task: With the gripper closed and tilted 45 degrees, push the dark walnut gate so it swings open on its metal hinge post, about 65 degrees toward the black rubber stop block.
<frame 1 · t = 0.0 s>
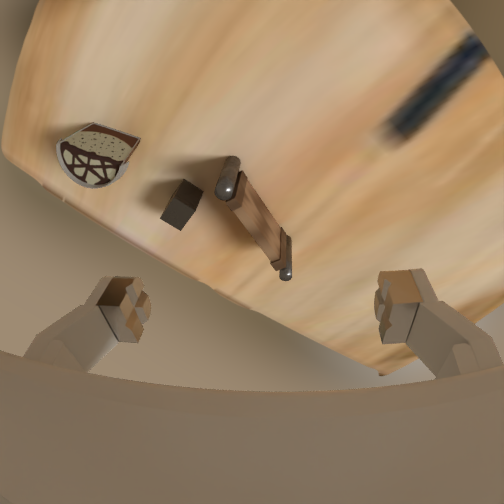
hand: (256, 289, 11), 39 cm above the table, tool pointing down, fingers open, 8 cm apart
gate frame: (233, 162, 49), on the table
food container: (113, 144, 48), on the table
gate: (259, 220, 50), point 5 cm above the table, hinge at 0.0°
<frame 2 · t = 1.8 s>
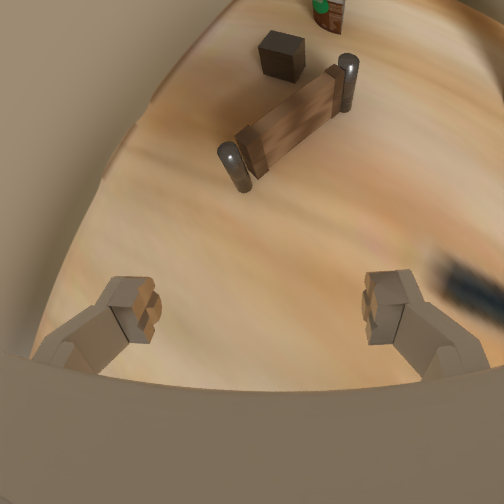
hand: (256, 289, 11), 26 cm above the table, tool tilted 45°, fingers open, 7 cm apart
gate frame: (342, 105, 39), on the table
food container: (325, 17, 42), on the table
gate: (295, 121, 34), point 5 cm above the table, hinge at 0.0°
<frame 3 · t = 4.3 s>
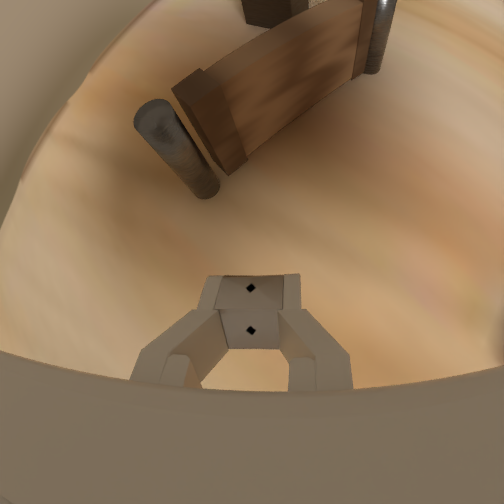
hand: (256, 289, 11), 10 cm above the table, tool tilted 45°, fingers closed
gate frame: (366, 64, 23), on the table
gate: (293, 73, 18), point 5 cm above the table, hinge at 0.0°
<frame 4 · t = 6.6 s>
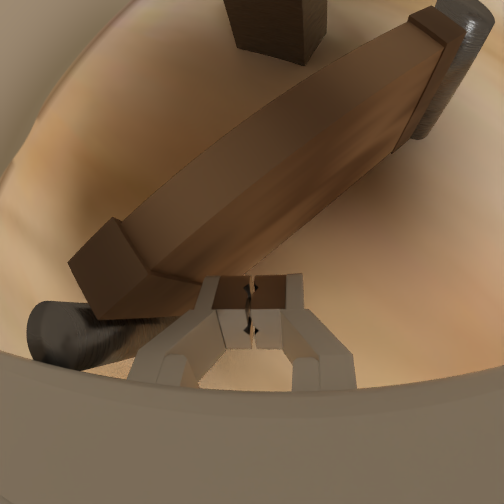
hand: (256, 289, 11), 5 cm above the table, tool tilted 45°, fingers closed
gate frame: (411, 122, 16), on the table
gate: (305, 171, 11), point 5 cm above the table, hinge at 1.4°, touching gripper
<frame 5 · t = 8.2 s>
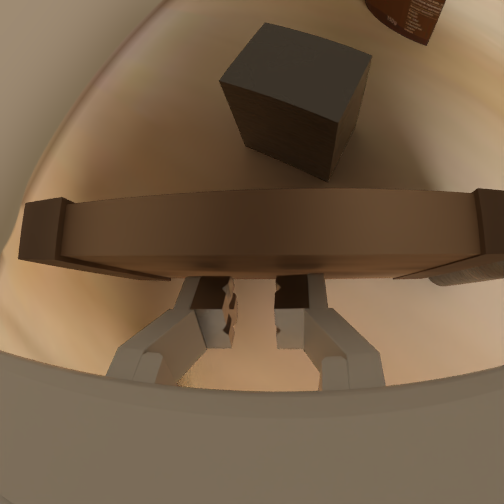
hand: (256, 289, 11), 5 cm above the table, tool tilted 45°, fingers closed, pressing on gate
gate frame: (443, 263, 15), on the table
food container: (387, 3, 18), on the table
gate: (268, 249, 11), point 5 cm above the table, hinge at 40.4°, touching gripper
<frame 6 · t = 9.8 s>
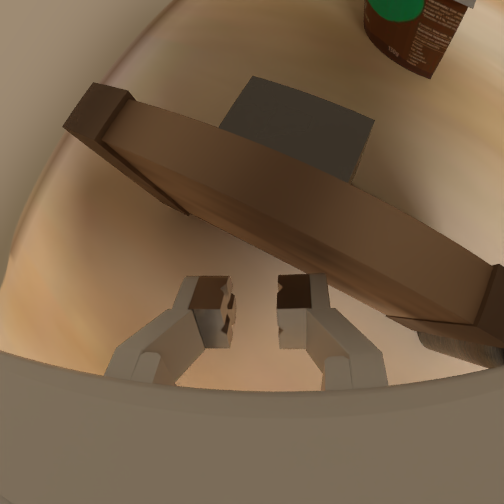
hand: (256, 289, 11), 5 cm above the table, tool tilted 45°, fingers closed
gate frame: (437, 327, 14), on the table
food container: (387, 28, 18), on the table
gate: (287, 226, 11), point 5 cm above the table, hinge at 68.9°, touching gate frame, gripper
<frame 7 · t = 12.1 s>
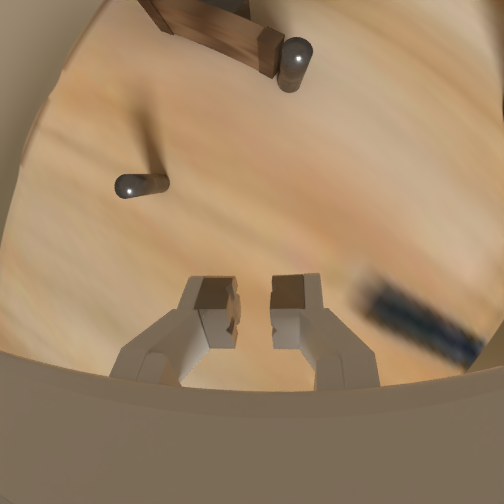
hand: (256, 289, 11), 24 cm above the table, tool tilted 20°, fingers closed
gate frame: (289, 82, 30), on the table
gate: (211, 29, 25), point 5 cm above the table, hinge at 68.9°, touching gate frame
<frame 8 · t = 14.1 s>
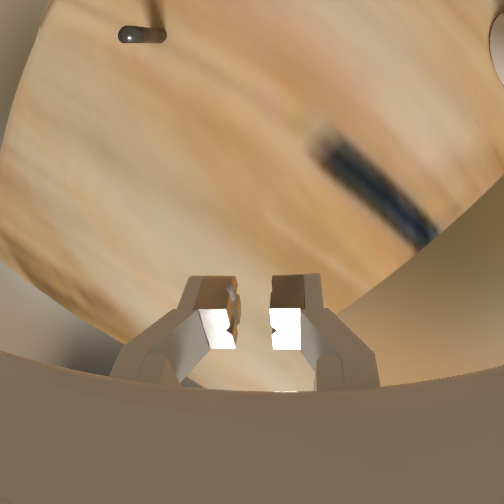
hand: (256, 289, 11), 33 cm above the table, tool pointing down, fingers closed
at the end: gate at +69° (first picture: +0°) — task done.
